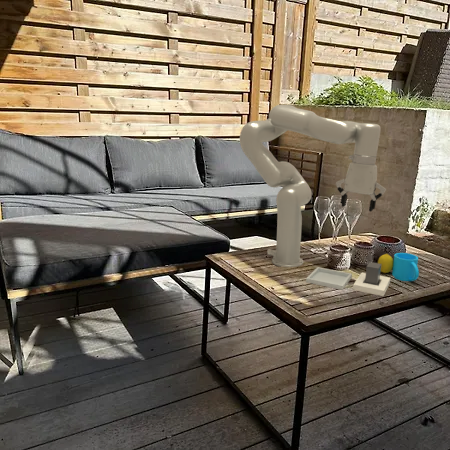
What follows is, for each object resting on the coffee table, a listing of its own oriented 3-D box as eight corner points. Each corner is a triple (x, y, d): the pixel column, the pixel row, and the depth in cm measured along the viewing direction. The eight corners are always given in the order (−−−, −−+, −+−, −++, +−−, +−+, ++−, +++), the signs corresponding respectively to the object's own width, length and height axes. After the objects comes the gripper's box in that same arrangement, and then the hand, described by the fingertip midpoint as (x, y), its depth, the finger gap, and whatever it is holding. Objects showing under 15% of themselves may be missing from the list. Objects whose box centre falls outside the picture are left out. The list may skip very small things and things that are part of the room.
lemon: (393, 277, 156) (395, 256, 154) (377, 275, 157) (379, 255, 155) (390, 271, 161) (393, 252, 159) (375, 270, 162) (377, 250, 160)
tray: (305, 283, 149) (306, 278, 149) (317, 271, 160) (317, 267, 160) (342, 291, 143) (342, 286, 143) (351, 278, 154) (352, 273, 154)
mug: (387, 273, 160) (389, 253, 157) (406, 272, 161) (409, 252, 159) (405, 286, 148) (408, 264, 146) (426, 284, 150) (429, 263, 147)
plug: (364, 287, 145) (366, 266, 143) (367, 283, 149) (369, 261, 147) (376, 290, 143) (378, 268, 141) (378, 285, 148) (381, 264, 145)
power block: (352, 291, 143) (353, 283, 143) (361, 278, 154) (361, 271, 153) (383, 297, 139) (384, 289, 138) (389, 284, 150) (390, 276, 149)
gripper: (336, 158, 145) (330, 206, 150) (388, 164, 137) (379, 215, 142) (342, 156, 151) (336, 202, 156) (392, 162, 143) (384, 210, 148)
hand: (357, 208), depth 149 cm, fingers open, 9 cm apart
